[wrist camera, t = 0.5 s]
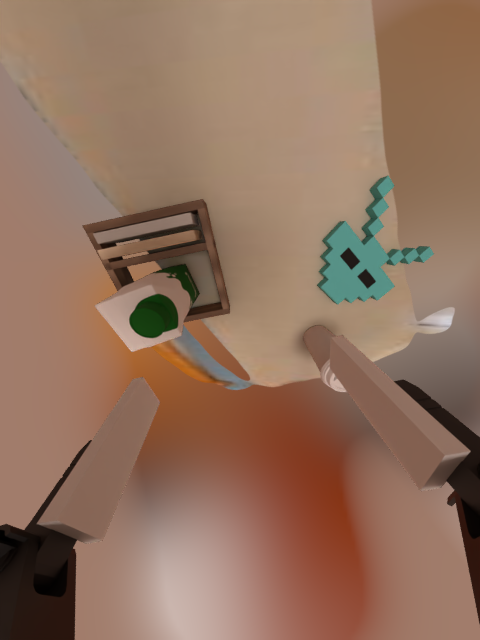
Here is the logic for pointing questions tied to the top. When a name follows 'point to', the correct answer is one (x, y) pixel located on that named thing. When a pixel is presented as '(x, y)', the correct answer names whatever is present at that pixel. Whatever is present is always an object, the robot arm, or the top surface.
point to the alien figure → (363, 256)
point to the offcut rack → (164, 252)
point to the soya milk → (151, 307)
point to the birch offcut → (150, 244)
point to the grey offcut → (147, 229)
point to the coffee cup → (322, 354)
